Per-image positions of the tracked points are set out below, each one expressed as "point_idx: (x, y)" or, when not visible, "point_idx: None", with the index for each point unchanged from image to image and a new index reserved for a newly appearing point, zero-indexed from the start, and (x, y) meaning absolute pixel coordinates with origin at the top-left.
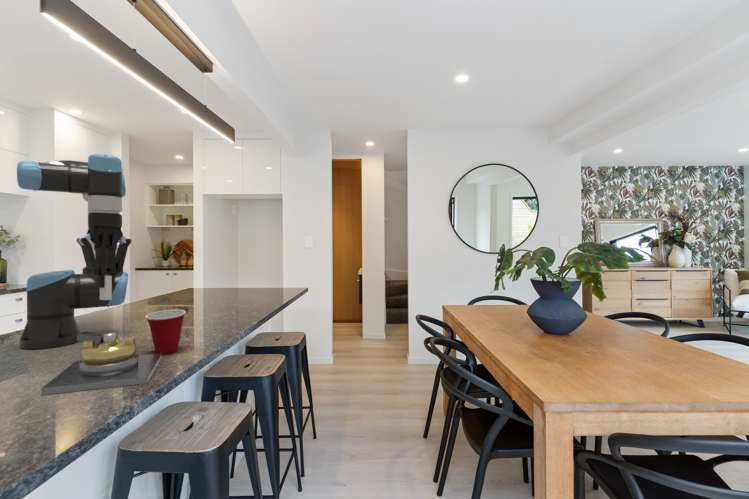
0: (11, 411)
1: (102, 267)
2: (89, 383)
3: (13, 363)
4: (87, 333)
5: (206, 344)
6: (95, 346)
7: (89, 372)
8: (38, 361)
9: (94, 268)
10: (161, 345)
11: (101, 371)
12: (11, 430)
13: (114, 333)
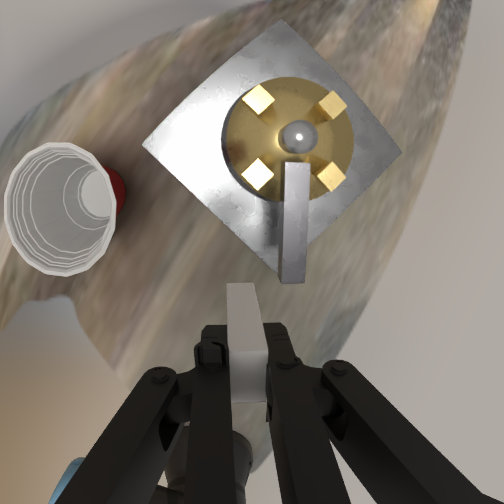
0: (437, 128)
1: (301, 392)
2: (354, 92)
3: None
4: (294, 252)
5: None
6: (316, 165)
7: None
8: None
9: (357, 382)
10: (117, 178)
11: None
12: (455, 69)
13: (295, 122)
